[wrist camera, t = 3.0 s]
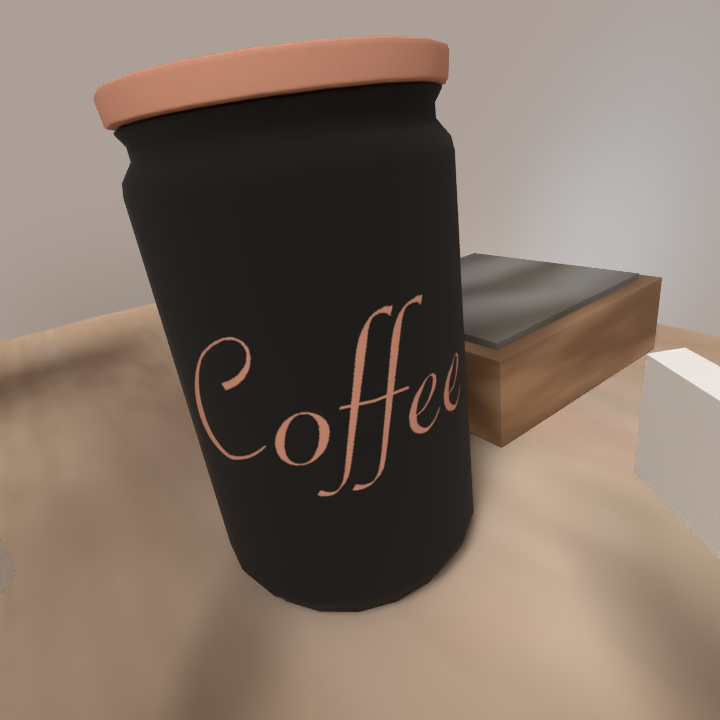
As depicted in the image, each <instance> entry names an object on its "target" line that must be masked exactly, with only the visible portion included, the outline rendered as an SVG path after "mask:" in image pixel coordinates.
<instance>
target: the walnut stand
mask: <svg viewBox="0 0 720 720" xmlns="http://www.w3.org/2000/svg"><path fill="white" fill-rule="evenodd" d="M460 263H461V282H462V302H463V321H464V341H465V360H466V380H467V399H468V418H469V432H471V433H473V434H475V435H477V436H479V437H481V438H483V439H485V440H487V441H490V442H492V443H494V444H496V445H498V446H500V447H503V446H505V445H506V444H508V443H509V442H511V441H512V440H514V439H515V438H517V437H518V436H520V435H522V434H523V433H525V432H526V431H528V430H529V429H531V428H532V427H534V426H535V425H537V424H538V423H540V422H541V421H543V420H545V419H546V418H548V417H549V416H551V415H552V414H554V413H555V412H557V411H558V410H560V409H561V408H563V407H564V406H566V405H568V404H569V403H571V402H572V401H574V400H575V399H577V398H578V397H580V396H581V395H583V394H584V393H586V392H587V391H589V390H591V389H592V388H594V387H595V386H597V385H598V384H600V383H601V382H603V381H604V380H606V379H607V378H609V377H610V376H612V375H614V374H615V373H617V372H618V371H620V370H621V369H623V368H624V367H626V366H627V365H629V364H630V363H632V362H633V361H635V360H637V359H638V358H640V357H641V356H643V355H644V354H646V353H647V352H649V351H650V350H652V349H653V348H654V343H655V334H656V325H657V317H658V308H659V299H660V291H661V281H662V278H661V277H652V276H645V275H639V274H638V273H630V272H622V271H614V270H606V269H597V268H589V267H581V266H573V265H565V264H556V263H549V262H540V261H532V260H525V259H516V258H508V257H500V256H492V255H484V254H476V253H474V254H471V255H468V256H465V257H462V258H460Z"/></svg>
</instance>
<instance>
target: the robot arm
mask: <svg viewBox="0 0 720 720" xmlns="http://www.w3.org/2000/svg"><path fill="white" fill-rule="evenodd" d="M634 472H635V473H636V474H637V475H638V476H639V477H640V478H641V479H642V481H643V482H644V483H645V484H646V485H647V486H648V487H649V488H650V489H651V490H652V491H653V492H654V493H655V494H656V495H657V496H658V497H659V498H660V499H661V500H662V501H663V502H664V503H665V504H666V505H667V506H668V507H669V508H670V509H671V511H672V512H673V513H674V514H675V515H676V516H677V517H678V518H679V519H680V520H681V521H682V522H683V523H684V524H685V525H686V526H687V527H688V528H689V529H690V530H691V531H692V532H693V533H694V534H695V535H696V536H697V537H698V538H699V539H700V540H701V542H702V543H703V544H704V545H705V546H706V547H707V548H708V549H709V550H710V551H711V552H712V553H713V554H714V555H715V556H716V557H717V558H718V559H719V560H720V367H719V366H717V365H716V364H714V363H712V362H710V361H708V360H707V359H705V358H703V357H701V356H699V355H698V354H696V353H694V352H692V351H690V350H688V349H687V348H681V349H674V350H668V351H662V352H655V353H649V354H646V362H645V371H644V381H643V390H642V400H641V410H640V419H639V429H638V439H637V448H636V458H635V467H634ZM16 573H17V570H16V568H15V566H14V564H13V563H12V561H11V559H10V557H9V555H8V554H7V552H6V550H5V548H4V546H3V544H2V543H1V541H0V596H1V595H2V593H3V592H4V590H5V589H6V587H7V586H8V585H9V583H10V582H11V580H12V579H13V577H14V576H15V575H16Z"/></svg>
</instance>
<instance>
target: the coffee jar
mask: <svg viewBox="0 0 720 720" xmlns="http://www.w3.org/2000/svg"><path fill="white" fill-rule="evenodd" d="M448 66H449V48H448V45H447V44H445V43H441V42H438V41H435V40H432V39H428V38H425V37H402V36H371V37H353V38H334V39H319V40H312V41H302V42H295V43H286V44H277V45H270V46H261V47H252V48H246V49H240V50H235V51H229V52H224V53H218V54H212V55H206V56H201V57H195V58H190V59H184V60H179V61H175V62H171V63H167V64H164V65H160V66H156V67H152V68H148V69H144V70H140V71H137V72H133V73H129V74H127V75H124V76H122V77H120V78H117V79H115V80H113V81H110V82H108V83H106V84H103V85H101V86H100V87H98V88H97V90H96V93H95V95H94V102H95V105H96V107H97V110H98V112H99V115H100V118H101V120H102V123H103V125H104V127H105V128H106V129H108V130H114V131H115V132H114V135H115V136H116V138H117V139H119V140H120V141H121V142H122V143H123V144H124V145H125V146H126V148H127V151H128V154H129V157H130V161H131V163H130V166H129V168H128V170H127V173H126V175H125V178H124V180H123V182H122V188H123V198H124V201H125V205H126V208H127V211H128V214H129V217H130V221H131V224H132V227H133V230H134V234H135V237H136V240H137V243H138V247H139V250H140V253H141V256H142V259H143V263H144V266H145V269H146V272H147V276H148V279H149V282H150V285H151V288H152V292H153V295H154V298H155V301H156V305H157V308H158V311H159V314H160V317H161V321H162V324H163V327H164V330H165V334H166V337H167V340H168V343H169V346H170V350H171V353H172V356H173V359H174V363H175V366H176V369H177V372H178V375H179V379H180V382H181V385H182V388H183V392H184V395H185V398H186V401H187V404H188V408H189V411H190V414H191V417H192V421H193V424H194V427H195V430H196V433H197V437H198V440H199V443H200V446H201V449H202V453H203V456H204V459H205V462H206V466H207V469H208V472H209V475H210V478H211V482H212V485H213V488H214V491H215V495H216V498H217V501H218V504H219V507H220V511H221V514H222V517H223V520H224V524H225V527H226V530H227V533H228V536H229V540H230V543H231V545H232V548H233V550H234V552H235V554H236V556H237V558H238V561H239V563H240V565H241V567H242V569H243V570H244V571H245V572H246V573H247V574H248V575H249V576H251V577H252V578H253V579H254V580H256V581H257V582H258V583H259V584H261V585H262V586H263V587H264V588H266V589H267V590H268V591H269V592H271V593H272V594H273V595H274V596H277V597H280V598H283V599H285V600H286V601H289V602H292V603H295V604H298V605H301V606H304V607H308V608H311V609H314V610H317V611H330V612H359V611H363V610H367V609H370V608H374V607H378V606H381V605H385V604H389V603H392V602H396V601H398V600H400V599H401V598H403V597H405V596H406V595H408V594H410V593H411V592H413V591H415V590H416V589H418V588H420V587H421V586H423V585H425V584H427V583H428V582H429V581H430V580H431V579H432V578H433V577H434V576H435V575H436V574H437V573H438V572H439V570H440V569H441V568H442V567H443V566H444V565H445V564H446V563H447V561H448V560H449V559H450V558H451V557H452V556H453V555H454V553H455V552H456V551H457V550H458V549H459V548H460V546H461V544H462V542H463V540H464V537H465V534H466V531H467V528H468V526H469V523H470V520H471V517H472V514H473V496H472V477H471V457H470V438H469V418H468V399H467V380H466V360H465V341H464V321H463V302H462V282H461V263H460V245H459V224H458V205H457V185H456V166H455V149H454V146H453V142H452V138H451V135H450V134H449V133H448V132H447V130H446V129H445V128H444V127H443V126H442V125H441V124H440V122H439V121H438V120H437V119H436V113H435V101H436V99H437V97H438V95H439V93H440V90H441V88H442V85H443V84H445V83H446V81H447V79H448Z"/></svg>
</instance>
